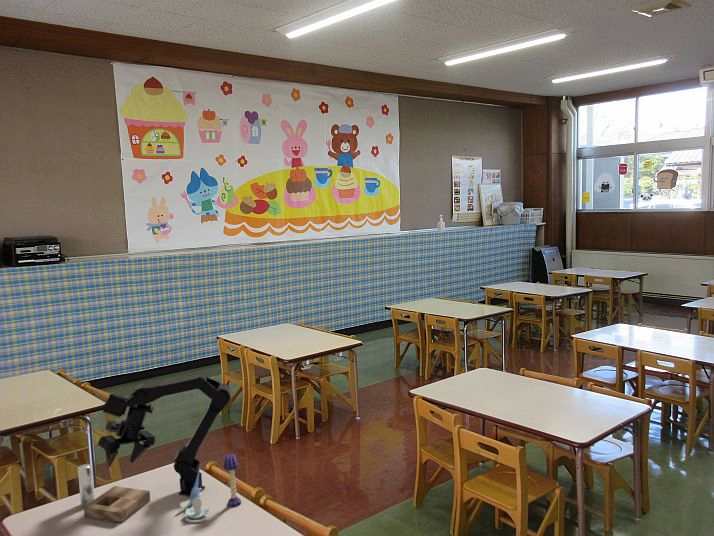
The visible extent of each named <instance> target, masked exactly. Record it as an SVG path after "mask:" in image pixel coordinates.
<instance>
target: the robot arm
mask: <svg viewBox="0 0 714 536" xmlns="http://www.w3.org/2000/svg"><path fill="white" fill-rule="evenodd" d="M194 390H199V391H201V392H202V393H203V394H204V395H205V396H207V397H208V398H209V399H210V403H209V405H208V407H207V409H206V411H205V412H204V414H203V416H202V418H201V420H200V422H199V424H198V425H197V426H196V429H195V430H194V432H193V434H192V436H191V438H190V439H189V441H188V442H187V443H186V444H183V443H181V444H180V447H179V450H178V451H177V452H176V454H175V456H174V459H173V462H174V464H173V469H174V471H175V472H176V473H177V474H179V477H180V478H179V489H180V491H179V492H178V495H180V496H188V497H190V496H191V491H192V488H193V487H194V484H195V481H196V478H197V474H198V471H199V467H200V468H201V465H200V463H201V461H200V460H199V459H197V458H196V455H197V453H198V450H199V449H200V446H201V445H202V443H203V441H204V439H205V438H206V436H207V434H208V432H209V431H210V429H211V427H212V426H213V424H214V422H215V420H216V418H217V417H218V415H219V414H220V413H221V412H222V411H223V410H224V409H225V408H226V407H227V405H228V404H229V403H230V400H231V397H232V388H231V386H230V385H228V384H226V383H221V382H219V381H218V380H216V379H213V378H210V377H209V376H207V375H205V374H203V373H200V374H198V375H194V376H190V377H189V376H188V377H184V378H183V377H182V378H181V379H180V378H179V379H175V380H169V381H165V382H156V381H154V382H153V381H149V382H141V383H140V384H139V385H138V386H137V387H136V389H135V390H134V391H133V392H131V393H130V394H129V395H128V396H124V395H119V394H117V393H115V392H111V393H110V394H109V395H108V398H107V400H106V403H105V404H104V406H103V410H102V413H103V414H106V415H109V416H113V417H117V418H121V417H123V416H126V418H125V419H124V420H123V419H122V420H121V421H116V420H112V419H111V420H107V422H106V424H105V431H109V433H115V435H116V437H119V438H116V437H114V436H113V435H111V434H110V435H105V436H104V435H103V436H101V437H100V438H99V439H98V442H97V445H98V446H99V447H101V448H102V449H104V451H105V460H106V467H107V468H111V466H112V464H113V463H114V460H115V459H116V457H117V456H118V454H119V452H120V451H119V450H120V447H121V445H128V444H133V449H132V452H131V455H130V459H129V462H130V464H133V463H134V462H136V460H137V459H138V458H139V457H140V456H141V455H142V454H143V453H145V451H147V449H149V448H151V446H153V445H155V442H156V437H155V435H153V434H152V433H151V432H150V431H148V430H145V428H146V427H145V426H144V422H145V419H146V416H147V414H148V413H149V414H153V412H154V411H155V407H154V406H153V405H152V404H153V402H155V401H157V400H159V399H160V398H162V397H166V396H171V395H175V394H179V393H184V392H189V391H194ZM127 411H128V412H127ZM126 413H127V415H126ZM198 488H202V491H203V490H204V489H205V488H206V486H205V485H203V478H202V472H200V471H199V481H198ZM202 491H201V490H200V492H201V493H202Z"/></svg>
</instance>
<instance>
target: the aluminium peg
mask: <svg viewBox="0 0 714 536" xmlns="http://www.w3.org/2000/svg"><path fill="white" fill-rule="evenodd" d="M92 472H93V470H92V464H90V463H85V464H81V465H79V466H78V467H77V475H78V483H79V496H80V498H79V499H80V507H81V508H83V509H84V506H86V505H87V504H89V503H90V502H92V501H93V500H95V494H94V492H95V491H94V481H93V473H92Z"/></svg>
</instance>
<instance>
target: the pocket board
mask: <svg viewBox="0 0 714 536" xmlns="http://www.w3.org/2000/svg"><path fill="white" fill-rule="evenodd" d="M150 502H151V492H150V490H144V489H139V488H130V487H124V486H123V487H122V486H118V485H117V486H116V485H114V486H112V487H111V488H109V489H108V490H106V491H105V492H103V493H102V494H100V495H99V496H98V497H96V498H94V500H93V501H92V502H90V503H89V504H87V505H86V506H84V508H83V513H84V514H83V515H84V519H85V518H86V519H92V520H98V521H103V522H104V521H105V522H112V523H117V524H123V523H124V522H126V521H128V519H130V518H131V517H132V516H133V515H135V514H136V513H137V512H138V511H140V510H141V509H143V507H144V506H146V505H147V504H148V503H150Z"/></svg>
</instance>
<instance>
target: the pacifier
mask: <svg viewBox="0 0 714 536" xmlns="http://www.w3.org/2000/svg"><path fill="white" fill-rule="evenodd" d="M202 504H203V501H202V499H201V498H200V497H199V498H198V497H196V498H194V499H193V501H192V504H191V505H192V507H193V508H189V507H188V509H186V511H185V515H186V517H185V521H186V522H188V523H191V524H193V523H194V524H196V523H201V522H204V521H206V520H207V516H205V515H207V514H208V513H209V512H210V508H204V509H203V510H202Z"/></svg>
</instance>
